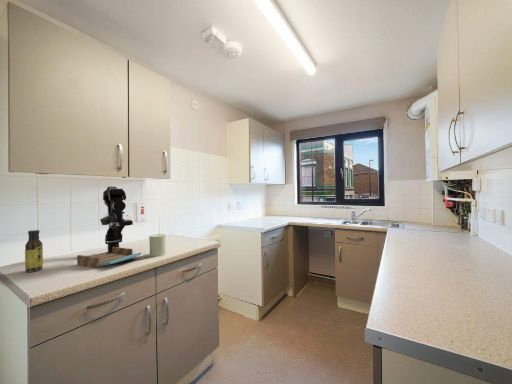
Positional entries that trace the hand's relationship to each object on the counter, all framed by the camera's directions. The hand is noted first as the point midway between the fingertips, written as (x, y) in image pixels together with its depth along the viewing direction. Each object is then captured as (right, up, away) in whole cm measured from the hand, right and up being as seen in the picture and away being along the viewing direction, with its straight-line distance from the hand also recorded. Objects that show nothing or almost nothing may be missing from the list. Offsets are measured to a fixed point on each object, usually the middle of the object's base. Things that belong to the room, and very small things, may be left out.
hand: (117, 237), depth 132 cm
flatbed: (-3, -12, -5) cm, 13 cm away
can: (+20, -12, +7) cm, 25 cm away
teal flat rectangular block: (+5, -10, -8) cm, 14 cm away
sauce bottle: (-29, -13, -19) cm, 37 cm away
